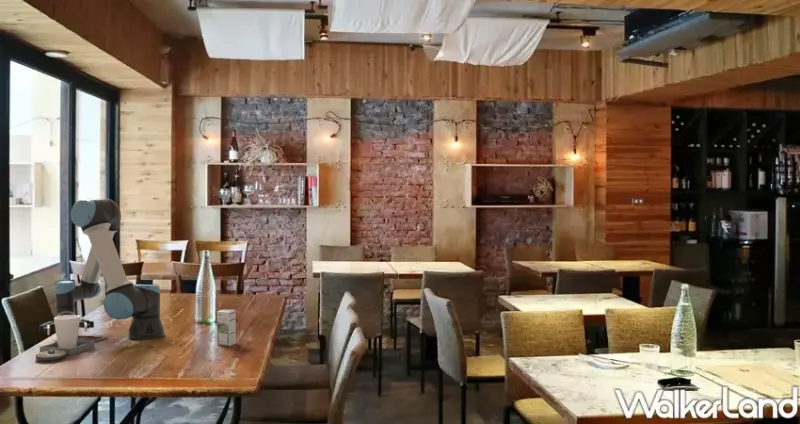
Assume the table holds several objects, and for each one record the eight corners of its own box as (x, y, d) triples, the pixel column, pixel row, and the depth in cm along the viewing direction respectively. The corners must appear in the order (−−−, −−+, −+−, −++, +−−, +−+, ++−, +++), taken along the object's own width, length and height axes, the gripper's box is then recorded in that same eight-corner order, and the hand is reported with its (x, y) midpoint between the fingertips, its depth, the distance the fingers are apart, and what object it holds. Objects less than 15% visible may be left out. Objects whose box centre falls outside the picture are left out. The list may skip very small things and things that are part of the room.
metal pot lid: (72, 357, 274) (72, 347, 273) (53, 363, 263) (53, 354, 263) (49, 355, 276) (49, 346, 276) (29, 361, 266) (29, 352, 266)
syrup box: (236, 343, 298) (236, 309, 298) (228, 346, 293) (228, 311, 292) (224, 342, 300) (224, 308, 300) (216, 345, 295) (216, 311, 294)
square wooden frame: (107, 338, 307) (107, 336, 307) (84, 346, 292) (84, 344, 292) (77, 336, 310) (77, 335, 310) (53, 344, 296) (53, 342, 296)
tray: (94, 347, 289) (94, 341, 289) (70, 355, 276) (70, 349, 276) (64, 345, 293) (64, 339, 293) (39, 353, 279) (39, 347, 279)
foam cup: (69, 352, 279) (69, 319, 278) (49, 351, 281) (48, 318, 280) (85, 347, 288) (84, 315, 288) (65, 345, 290) (64, 314, 289)
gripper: (98, 327, 306) (101, 336, 287) (33, 332, 295) (32, 342, 276) (97, 309, 305) (101, 318, 286) (33, 314, 294) (32, 323, 275)
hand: (67, 330), depth 281 cm, fingers open, 13 cm apart
